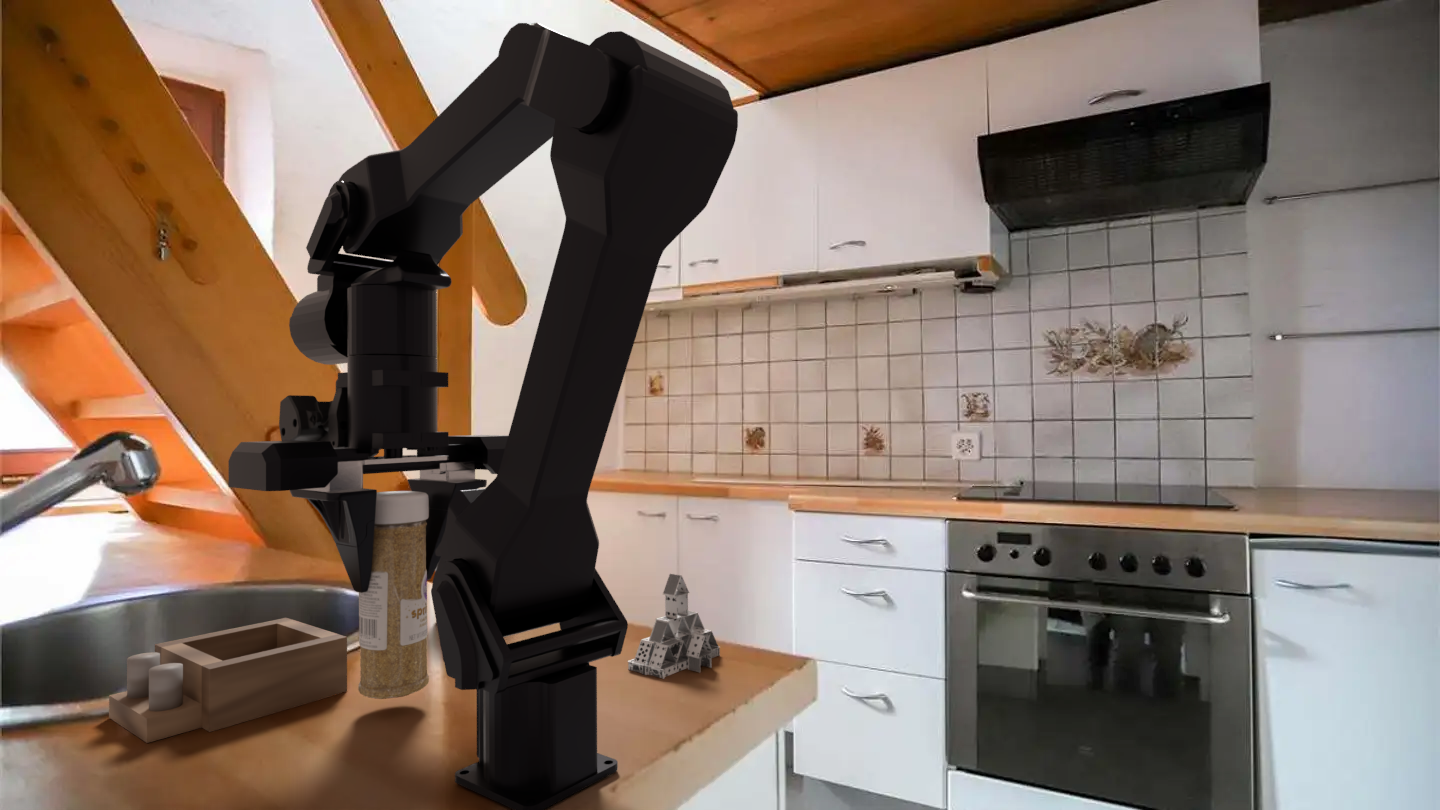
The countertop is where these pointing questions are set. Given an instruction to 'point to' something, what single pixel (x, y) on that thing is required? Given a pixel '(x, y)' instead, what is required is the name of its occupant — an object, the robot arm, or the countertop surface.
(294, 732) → the countertop surface
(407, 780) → the countertop surface
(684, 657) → the house of cards
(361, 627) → the sprinkles bottle
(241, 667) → the slot block
